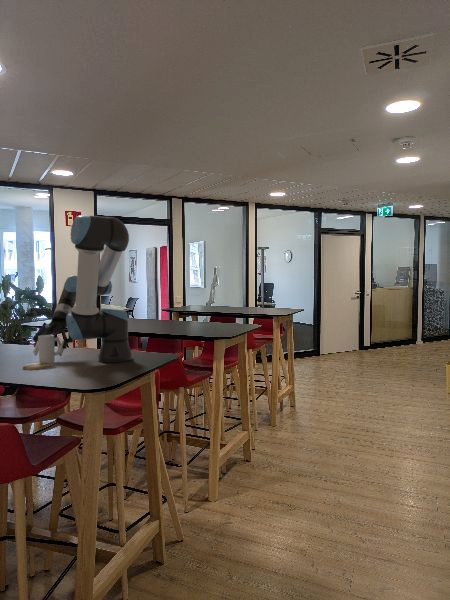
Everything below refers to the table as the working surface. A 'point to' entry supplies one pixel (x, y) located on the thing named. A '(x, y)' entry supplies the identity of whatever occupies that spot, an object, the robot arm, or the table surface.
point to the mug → (47, 348)
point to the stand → (36, 366)
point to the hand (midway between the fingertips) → (47, 354)
